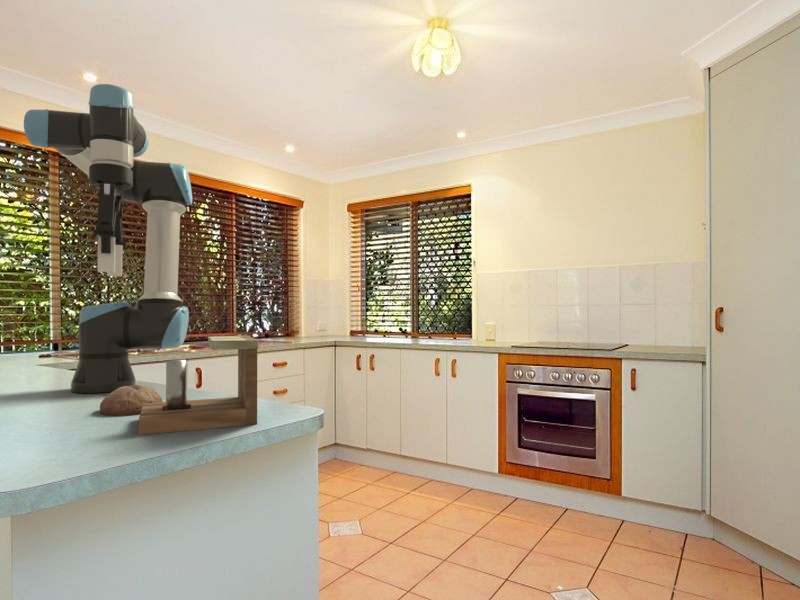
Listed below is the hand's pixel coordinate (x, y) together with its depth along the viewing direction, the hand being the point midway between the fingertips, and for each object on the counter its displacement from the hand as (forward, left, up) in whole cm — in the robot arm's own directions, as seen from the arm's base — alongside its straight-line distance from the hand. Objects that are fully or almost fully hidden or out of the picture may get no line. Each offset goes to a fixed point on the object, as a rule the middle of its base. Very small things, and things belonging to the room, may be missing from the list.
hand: (110, 274), depth 100 cm
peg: (+8, +12, -29) cm, 32 cm away
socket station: (+8, +16, -29) cm, 34 cm away
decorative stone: (-10, +3, -29) cm, 31 cm away
